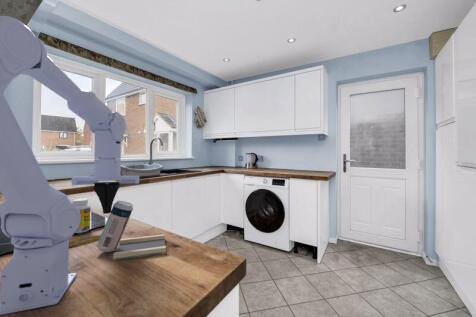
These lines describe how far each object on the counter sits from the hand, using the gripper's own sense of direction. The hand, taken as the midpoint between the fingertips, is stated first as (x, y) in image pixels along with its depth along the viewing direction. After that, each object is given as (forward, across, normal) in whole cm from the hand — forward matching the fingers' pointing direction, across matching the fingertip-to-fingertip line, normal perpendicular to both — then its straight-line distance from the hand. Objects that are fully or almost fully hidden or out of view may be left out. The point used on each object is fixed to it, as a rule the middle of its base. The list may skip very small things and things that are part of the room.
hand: (107, 212), depth 54 cm
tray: (+10, -8, +1) cm, 13 cm away
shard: (+11, +10, -10) cm, 18 cm away
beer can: (+9, 0, 0) cm, 9 cm away
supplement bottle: (+10, +11, -20) cm, 25 cm away
